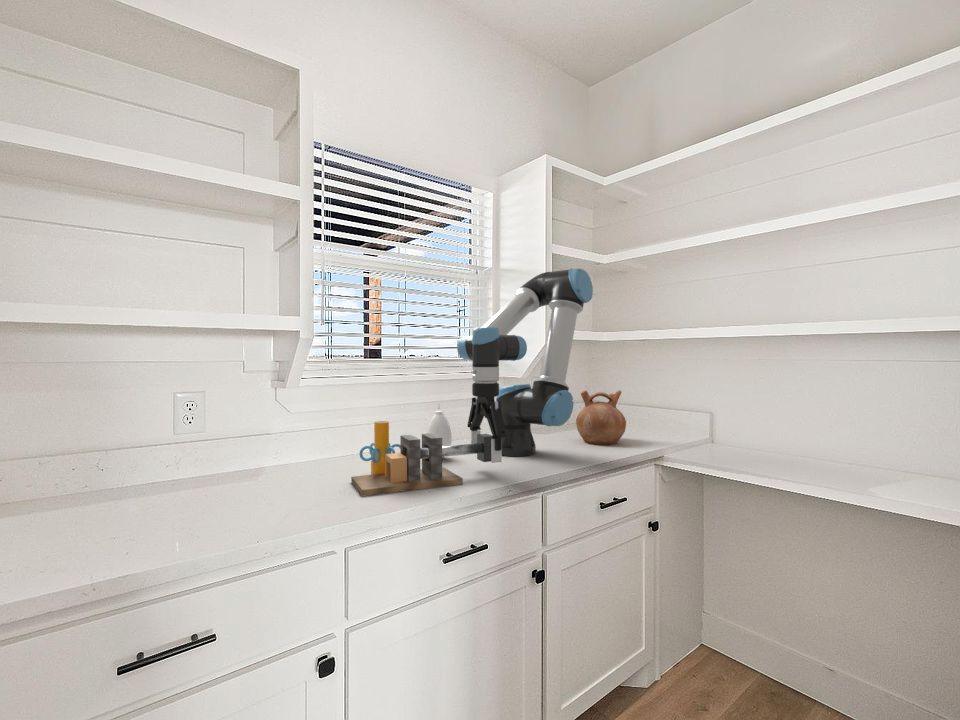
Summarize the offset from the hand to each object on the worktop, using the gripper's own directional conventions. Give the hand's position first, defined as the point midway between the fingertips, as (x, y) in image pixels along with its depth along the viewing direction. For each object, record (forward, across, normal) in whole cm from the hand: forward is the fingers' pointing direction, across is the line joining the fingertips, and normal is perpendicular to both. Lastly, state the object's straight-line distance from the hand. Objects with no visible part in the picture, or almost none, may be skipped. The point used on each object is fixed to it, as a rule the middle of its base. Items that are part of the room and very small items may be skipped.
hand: (485, 457), depth 142 cm
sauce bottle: (+5, -25, -5) cm, 26 cm away
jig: (+5, 0, -23) cm, 23 cm away
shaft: (+1, 0, -10) cm, 10 cm away
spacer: (+3, 0, -26) cm, 26 cm away
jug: (+5, -26, +61) cm, 67 cm away
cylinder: (+5, -11, -27) cm, 29 cm away
